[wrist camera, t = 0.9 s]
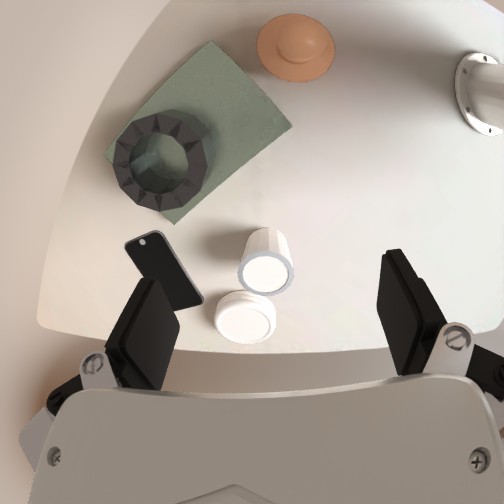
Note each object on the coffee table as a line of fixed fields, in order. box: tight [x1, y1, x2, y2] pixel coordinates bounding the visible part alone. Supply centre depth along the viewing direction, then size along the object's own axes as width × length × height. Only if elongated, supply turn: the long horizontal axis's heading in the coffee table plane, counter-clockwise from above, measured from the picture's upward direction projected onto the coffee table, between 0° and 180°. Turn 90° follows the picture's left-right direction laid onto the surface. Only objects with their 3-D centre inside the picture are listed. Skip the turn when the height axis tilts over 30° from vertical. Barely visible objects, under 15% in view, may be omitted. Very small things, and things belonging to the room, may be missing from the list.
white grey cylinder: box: [237, 228, 294, 296], centre depth 37 cm, size 7×7×7 cm
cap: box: [257, 14, 335, 82], centre depth 22 cm, size 8×8×10 cm
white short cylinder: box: [214, 290, 276, 344], centre depth 46 cm, size 10×10×4 cm
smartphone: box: [125, 230, 204, 311], centre depth 44 cm, size 8×1×15 cm
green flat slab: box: [104, 40, 293, 225], centre depth 30 cm, size 20×14×6 cm
